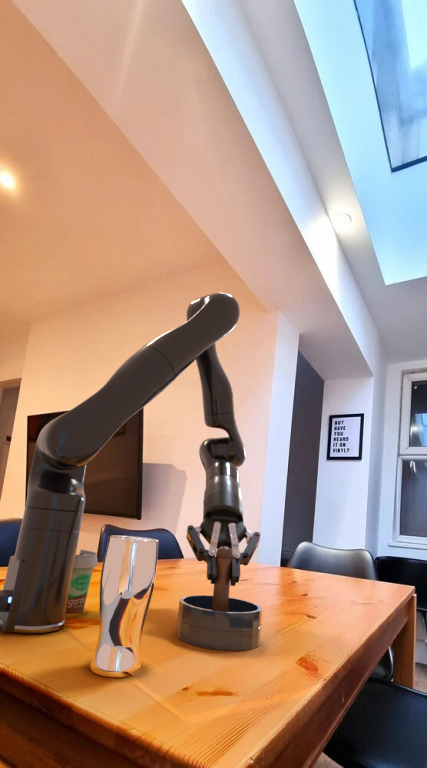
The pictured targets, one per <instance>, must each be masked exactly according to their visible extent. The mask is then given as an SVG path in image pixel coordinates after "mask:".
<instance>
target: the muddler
mask: <svg viewBox="0 0 427 768" xmlns="http://www.w3.org/2000/svg"><path fill="white" fill-rule="evenodd" d="M215 557H217V575H216V582H215V584H213V591H212V596H213V601H212V610H214V611H224V612H228V603H229V597H230V591H231V590H230V588H231V585H230V577H231V563H232V557H233V553H232V550H231V549H230V548H229V547H227V546H221V547H219V548H218V549H216V555H215Z"/></svg>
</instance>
